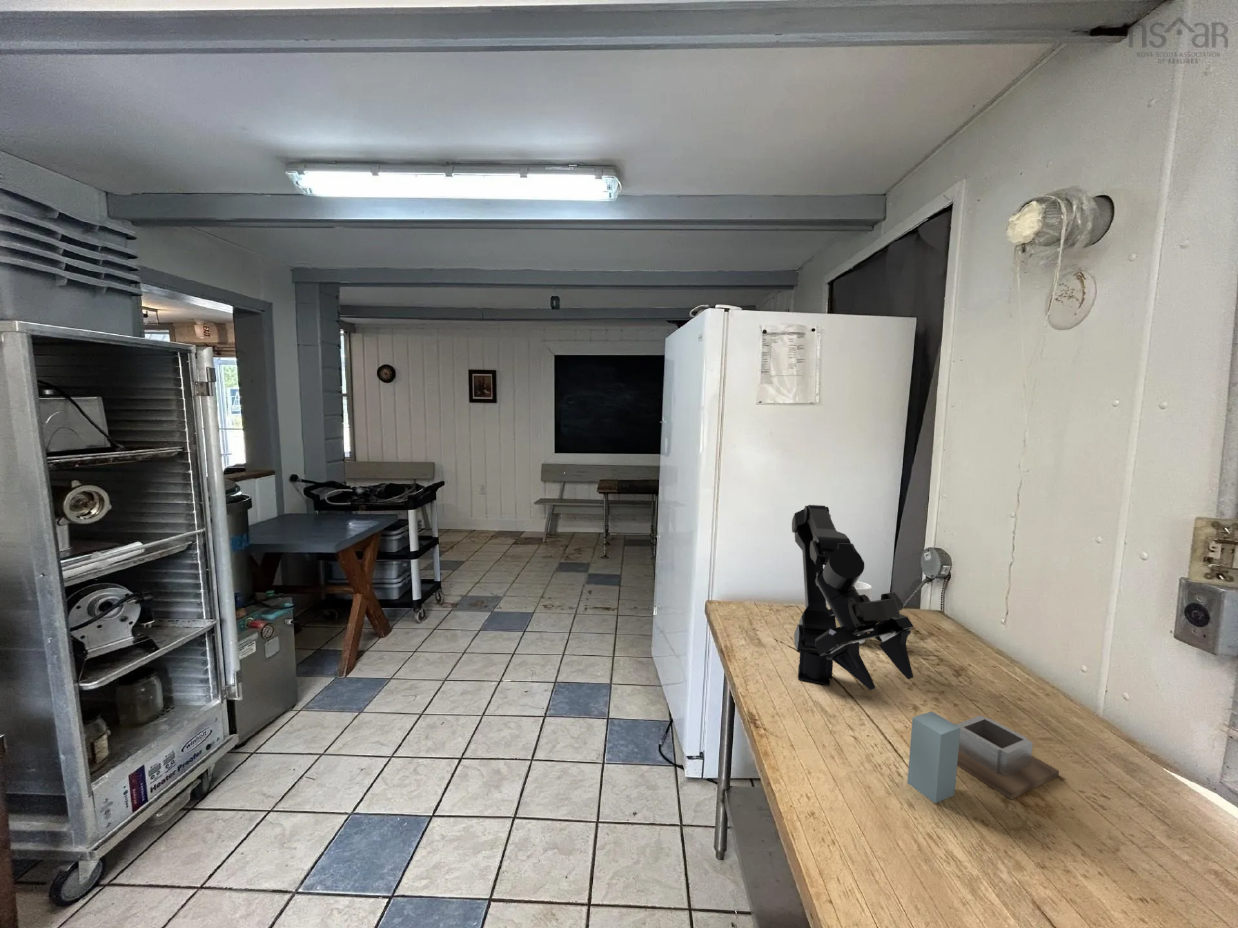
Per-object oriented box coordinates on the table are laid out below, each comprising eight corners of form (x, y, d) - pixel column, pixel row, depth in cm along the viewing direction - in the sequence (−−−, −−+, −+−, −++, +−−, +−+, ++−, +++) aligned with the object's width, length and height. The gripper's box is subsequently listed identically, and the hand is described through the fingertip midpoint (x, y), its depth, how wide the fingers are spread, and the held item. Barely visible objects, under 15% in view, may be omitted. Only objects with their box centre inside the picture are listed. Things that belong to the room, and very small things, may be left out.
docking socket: (1010, 799, 75) (1013, 768, 74) (928, 746, 87) (930, 720, 86) (1058, 775, 80) (1061, 747, 80) (974, 729, 92) (976, 704, 92)
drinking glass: (835, 634, 132) (838, 580, 131) (859, 634, 133) (862, 580, 131) (848, 646, 125) (852, 589, 124) (874, 645, 126) (877, 589, 124)
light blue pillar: (935, 803, 74) (941, 734, 73) (907, 782, 78) (912, 717, 77) (954, 794, 76) (960, 727, 75) (926, 775, 80) (931, 711, 79)
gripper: (831, 583, 82) (886, 678, 73) (907, 571, 90) (965, 656, 81) (795, 611, 90) (840, 700, 81) (867, 598, 98) (916, 678, 88)
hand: (892, 683), depth 83 cm, fingers open, 9 cm apart
